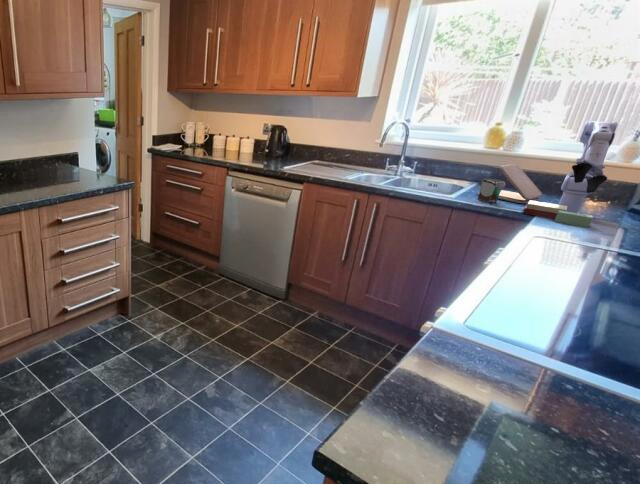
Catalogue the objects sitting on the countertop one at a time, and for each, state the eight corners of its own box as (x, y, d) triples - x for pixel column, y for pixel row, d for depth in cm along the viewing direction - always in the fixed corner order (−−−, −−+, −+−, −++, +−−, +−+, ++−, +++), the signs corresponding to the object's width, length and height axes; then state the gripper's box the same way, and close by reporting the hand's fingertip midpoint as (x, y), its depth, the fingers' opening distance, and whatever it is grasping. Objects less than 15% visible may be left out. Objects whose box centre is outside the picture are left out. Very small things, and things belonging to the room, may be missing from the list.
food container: (504, 205, 199) (512, 184, 195) (490, 203, 200) (497, 183, 196) (489, 198, 210) (496, 178, 207) (475, 197, 211) (482, 177, 208)
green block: (555, 219, 178) (558, 210, 176) (588, 225, 171) (592, 215, 170) (554, 221, 175) (558, 212, 173) (588, 227, 168) (592, 217, 167)
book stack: (525, 209, 193) (528, 199, 191) (564, 215, 184) (568, 206, 183) (522, 213, 186) (526, 203, 184) (563, 220, 177) (567, 210, 175)
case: (525, 205, 201) (538, 171, 195) (474, 195, 217) (485, 163, 211) (542, 201, 210) (555, 168, 204) (492, 191, 227) (503, 161, 221)
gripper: (596, 146, 165) (585, 175, 163) (619, 165, 168) (609, 194, 166) (573, 150, 172) (563, 179, 170) (595, 169, 175) (585, 197, 173)
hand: (584, 187), depth 168 cm, fingers open, 7 cm apart
